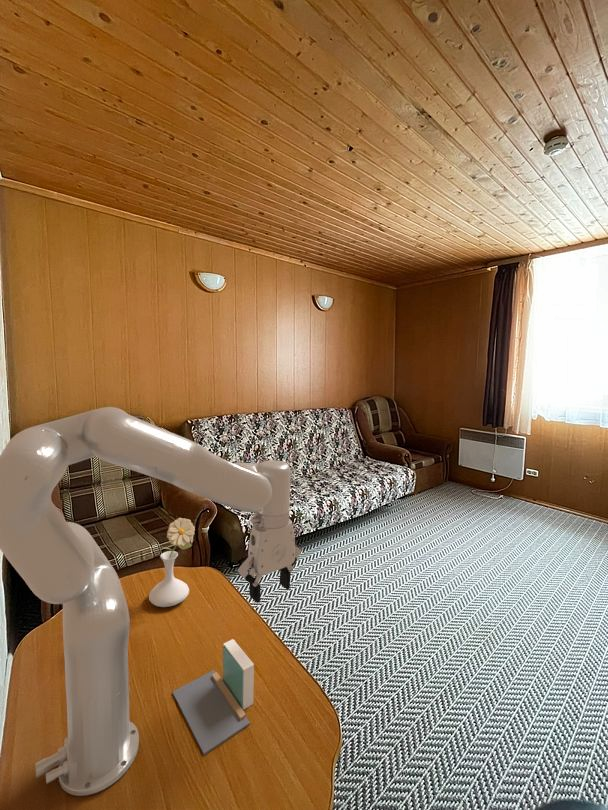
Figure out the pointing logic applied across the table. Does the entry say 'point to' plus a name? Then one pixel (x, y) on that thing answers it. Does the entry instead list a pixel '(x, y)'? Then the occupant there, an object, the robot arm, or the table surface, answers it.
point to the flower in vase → (170, 587)
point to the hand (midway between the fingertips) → (270, 592)
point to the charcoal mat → (210, 710)
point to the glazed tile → (238, 673)
